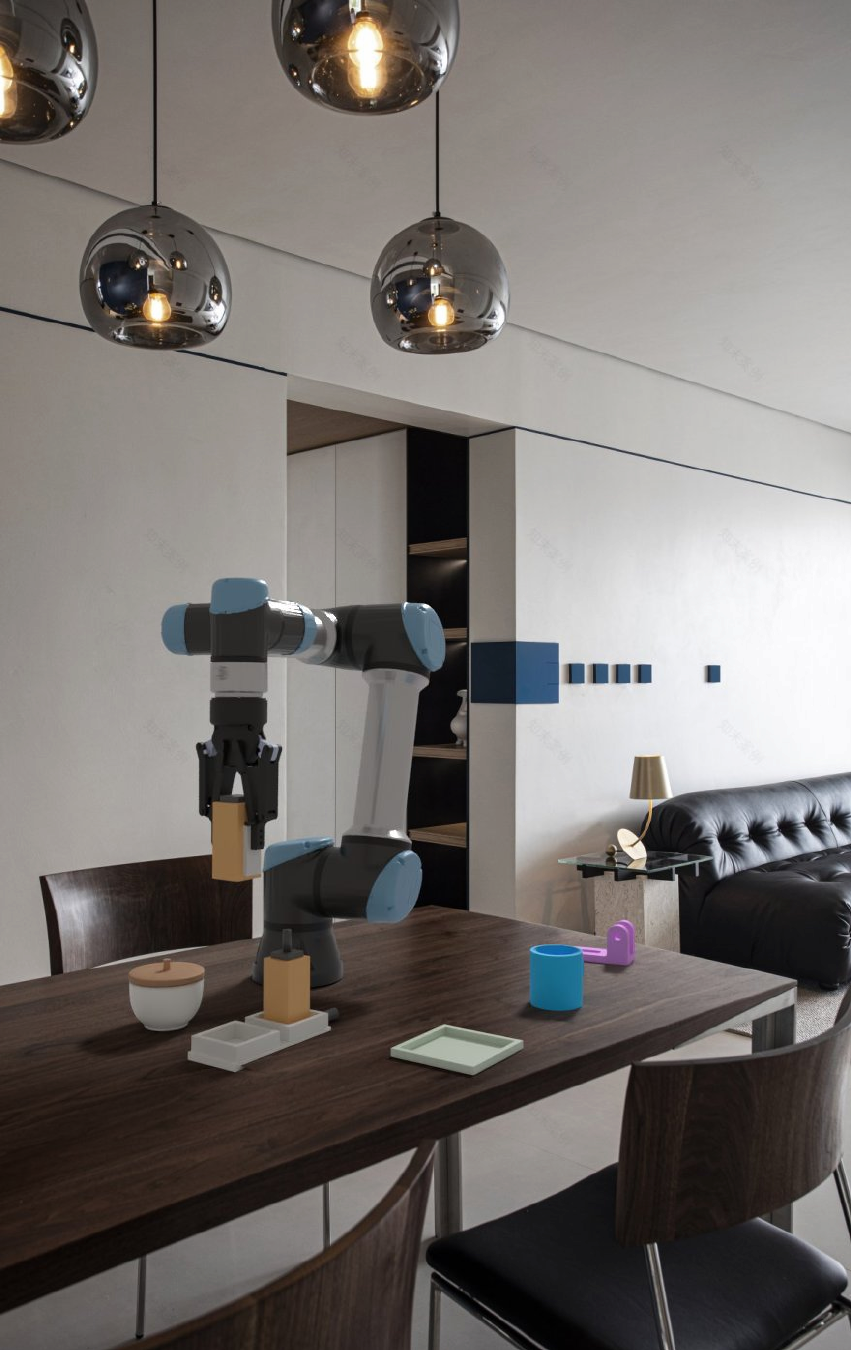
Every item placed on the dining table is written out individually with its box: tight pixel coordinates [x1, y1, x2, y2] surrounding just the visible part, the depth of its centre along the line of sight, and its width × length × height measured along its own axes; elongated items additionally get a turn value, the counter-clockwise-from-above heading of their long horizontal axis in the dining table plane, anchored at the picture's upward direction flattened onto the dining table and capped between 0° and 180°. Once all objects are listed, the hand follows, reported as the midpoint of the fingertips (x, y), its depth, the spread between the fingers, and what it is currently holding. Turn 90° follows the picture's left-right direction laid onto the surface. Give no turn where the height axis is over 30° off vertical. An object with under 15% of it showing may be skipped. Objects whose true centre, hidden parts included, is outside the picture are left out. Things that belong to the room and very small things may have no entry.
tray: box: [390, 1023, 524, 1076], centre depth 144 cm, size 13×13×2 cm
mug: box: [529, 943, 585, 1012], centre depth 171 cm, size 12×8×8 cm
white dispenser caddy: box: [187, 929, 340, 1073], centre depth 151 cm, size 25×8×15 cm, turn 146°
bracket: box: [573, 919, 636, 966], centre depth 199 cm, size 13×6×7 cm, turn 66°
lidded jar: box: [127, 958, 206, 1032], centre depth 158 cm, size 11×11×9 cm
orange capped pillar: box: [211, 793, 262, 883], centre depth 145 cm, size 4×4×11 cm
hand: (237, 872), depth 145 cm, fingers closed on orange capped pillar, 4 cm apart
